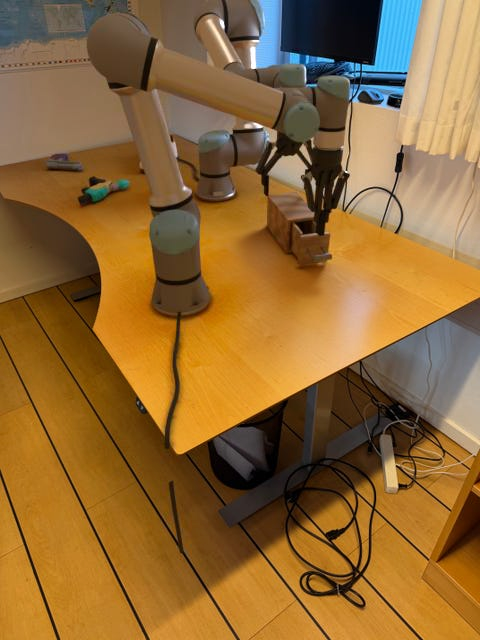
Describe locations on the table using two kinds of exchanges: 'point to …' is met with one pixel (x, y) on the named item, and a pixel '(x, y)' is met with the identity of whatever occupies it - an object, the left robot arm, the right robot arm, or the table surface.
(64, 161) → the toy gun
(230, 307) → the table surface
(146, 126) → the left robot arm
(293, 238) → the drawer
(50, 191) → the table surface
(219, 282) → the table surface
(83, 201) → the toy gun
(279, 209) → the cabinet
